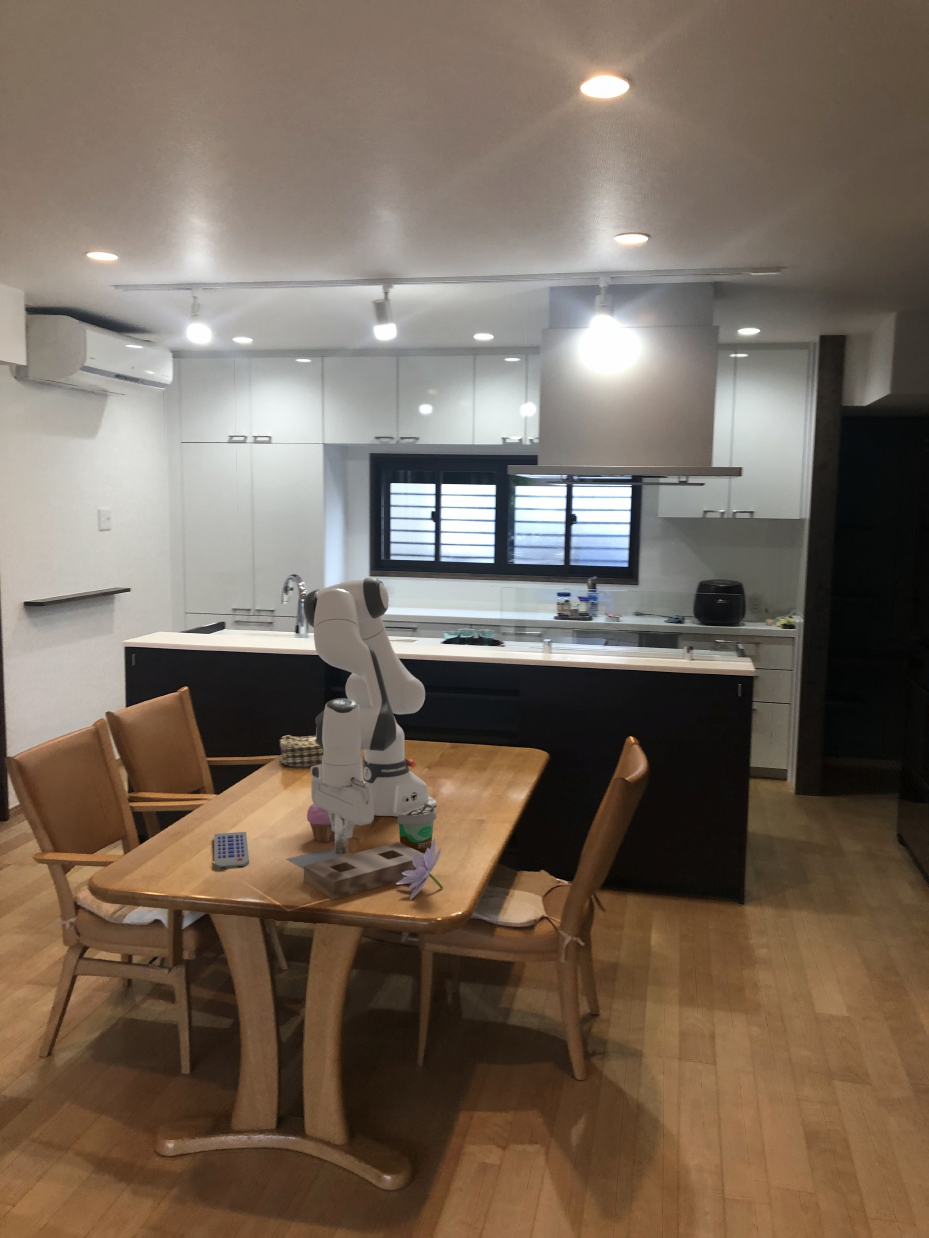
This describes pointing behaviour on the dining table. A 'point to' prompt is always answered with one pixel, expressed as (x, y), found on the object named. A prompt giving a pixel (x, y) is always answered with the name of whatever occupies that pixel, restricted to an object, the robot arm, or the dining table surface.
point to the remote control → (230, 850)
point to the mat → (313, 857)
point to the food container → (417, 828)
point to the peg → (340, 836)
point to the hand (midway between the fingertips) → (342, 834)
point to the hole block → (361, 870)
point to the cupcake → (320, 824)
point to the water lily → (421, 870)
